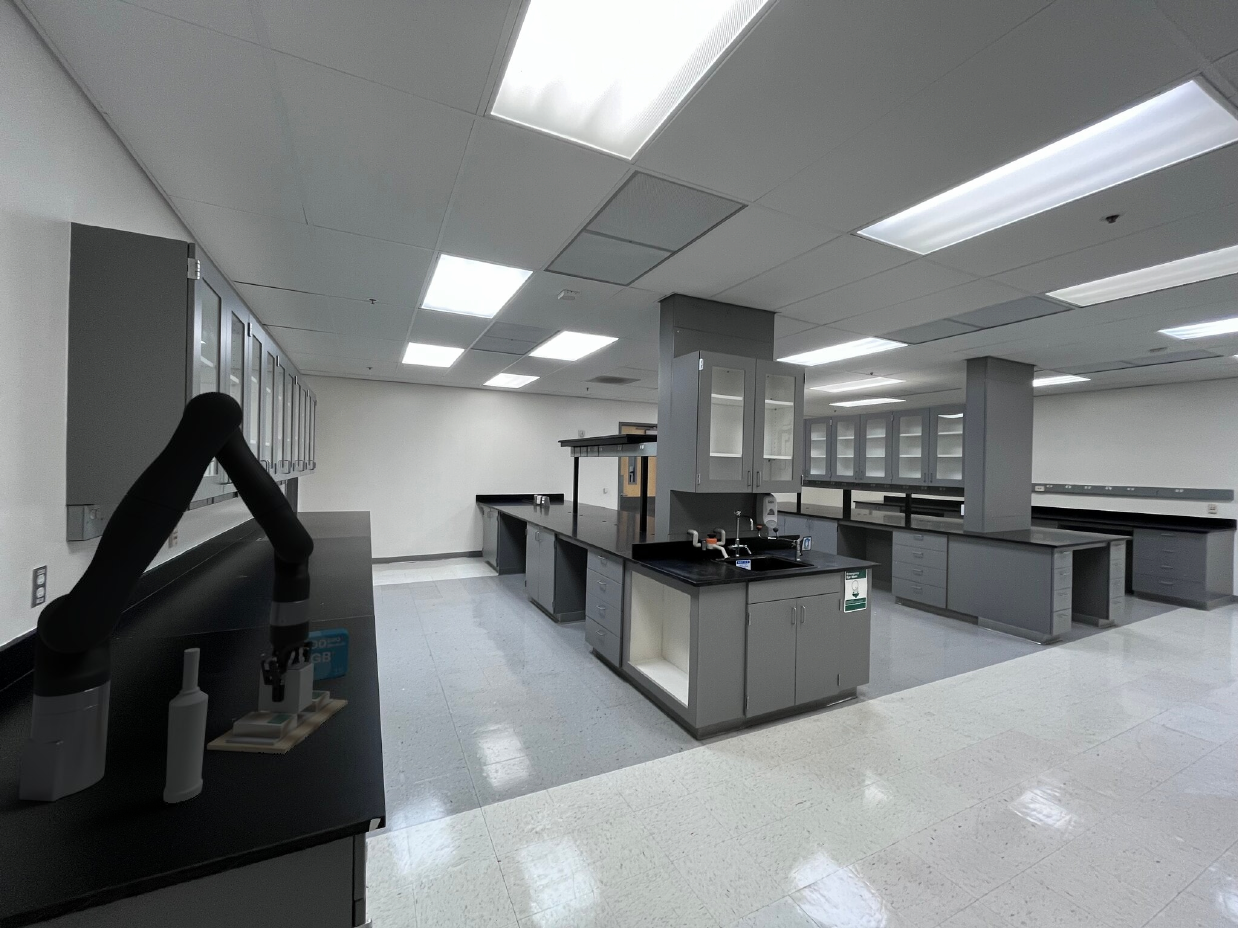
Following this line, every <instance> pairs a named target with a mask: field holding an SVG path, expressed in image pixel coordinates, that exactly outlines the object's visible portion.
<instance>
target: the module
mask: <svg viewBox="0 0 1238 928" xmlns="http://www.w3.org/2000/svg"><path fill="white" fill-rule="evenodd" d="M284 668H285V667H277V669H284ZM313 671H314V663H311V662H300V663H298V662H297V663H295V664H292V665H291V668H289V670H288V673H286V678H285V683H284V684H285V688H284V700H283V701H282V702H273V701H272V685H265V684H264V679H263V674H262V668H260V671H259V672H260V673H259V687H258V688H259V690H258V706H257V712H260V711H275V712H293V713H299V712H300V711H302V710H303V709H305V708H306V707H307V706H309V705H310V704H312V691H314V690H313V688H314V686H313V685H314V681H313ZM278 676H279V679H280V677H281V673H278ZM270 679H271V677H270Z"/></svg>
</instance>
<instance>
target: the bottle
mask: <svg viewBox="0 0 1238 928" xmlns="http://www.w3.org/2000/svg"><path fill="white" fill-rule="evenodd" d="M200 649H201V648H199V647H193V648H188V649H185V650H184V652H183V655H184V656H183V672H182V675H183V677H182V687H181V688H182V689H181V690H179V694H177V695H176V696H175V697H174V698H173V699H171V700H169V704H168V725H167V747H166V748H167V753H166V754H167V755H166V779H165V782H166V783H165V788H164V790H163V802H164V801H165V802H168V803H176V802H177V803H178V802H180V801H185V800H188V799H190V798H193V797H195V796H196V795H198V794H199V793H200V794H201V792H202V789H203V784H204V783H203V782H204V780H203V778H202V771H203V759H204V758H203V757H204V747H205V737H206V736H205V734H206V724H207V712H208V700H209V694H207V693H205V692H203V691H201V689H200V688H201V687H200V686H198V677H199V664H200V663H199V662H200ZM200 794H199V795H200ZM199 795H198V796H199ZM195 798H196V797H195ZM165 802H164V803H165Z"/></svg>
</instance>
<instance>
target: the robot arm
mask: <svg viewBox="0 0 1238 928" xmlns="http://www.w3.org/2000/svg"><path fill="white" fill-rule="evenodd" d="M182 412H183V413H182V416H181V419H180V421H179V422H178V425H177V426H176V428H175V431H174V432H173V434H172V436H171V438H170V439H169V441H168V443H167V445H166V446H165V447H164V449H163V450H162V451H161V452H160V453H159V455H158V456H156V457H155V459H154V460H153V461H152V462H151V463H150V464H149V465H148V466H147V467H146V469H144V471H143V472H142V473H141V474H140V475H139V477H138V478H137V479H135V481H134V483H133V484H132V485H131V486H130V488H129V489H128V491H127V492H126V494H125V495H124V496H123V498H121V500H120V502H119V503H118V505H117V506H116V508H115V509H114V511H113V512H112V515H111V516H110V517H109V520H108V521H107V524H106V526H105V528H104V530H103V533H102V534H101V537H100V539H99V542H98V545H97V547H96V549H95V552H94V554H93V557H92V559H91V561H90V563H89V564H88V566H87V568H86V570H85V571H84V572H83V574H82V576H81V577H80V578H79V579H78V581H76V583H75V585H74V586H73V587H72V588H71V589H70V591H69V592H68V593H65V594H61V595H60V596H59V597H56V598H55V599H53V600H51V601H50V602H49V603H47V604H46V605H45V607H44V608H43V609H42V610H41V611H40V613H39V616H38V617H37V623H36V628H35V631H36V632H35V648H34V662H33V663H34V664H33V681H34V683H33V697H32V698H33V700H32V701H33V702H32V711H31V713H32V714H31V723H30V724H31V725H30V726H31V728H30V739H28V740H25V741H24V742H23V743H22V753H21V754H22V755H21V769H20V782H19V796H18V800H23V801H25V800H26V801H40V802H41V801H42V802H55V801H57V800H59V799H60V798H63V797H66V796H67V797H68V796H69V795H73V794H75V793H78V792H80V791H81V792H82V791H83V790H85V789H88V788H89V787H91V786H93V785H95V784H96V783H98V782H99V781H100V780H101V779H102V778H103V777H104V775H105V767H106V754H107V753H106V752H107V751H106V750H107V739H108V738H107V737H108V721H109V705H110V694H111V693H110V692H111V691H110V690H111V675H112V660H111V645H110V644H111V634H112V633H113V632H114V631H115V629H116V627H117V626H118V623H119V621H120V618H121V616H122V614H123V612H124V610H125V608H126V606H127V604H128V602H129V600H130V599H131V598H130V597H131V596H132V594H133V592H134V590H135V588H136V587H137V584H138V582H139V581H140V579H141V577H142V576H143V574H144V573H145V572H146V570H147V569H148V568H149V566H150V565H151V564H152V562H153V561H154V559H155V558H156V556H157V555H158V554H159V552H160V551H161V550H162V548H163V547H164V545H165V543H166V542H167V541H168V539H169V538H170V537H171V535H172V534H173V532H174V530H175V529H176V528H177V526H178V524H179V523H180V521H181V519H182V518H183V516H184V515H185V513H186V511H187V510H188V508H189V506H190V504H191V502H192V500H193V499H194V497H195V495H196V493H197V491H198V489H199V487H200V485H201V483H202V481H203V478H204V476H205V475H206V471H208V468H209V466H210V464H211V463H212V462H213V460H214V459H216V461H217V462H218V463H219V465H220V466H221V468H222V470H223V471H224V472H225V474H226V475H227V477H228V479H229V480H230V482H231V483H232V486H233V487H234V488H235V490H236V492H237V493H238V495H239V496H240V498H241V500H242V502H243V503H244V505H245V506H246V508H247V509H248V511H249V512H250V514H251V515H252V517H253V518H254V519H253V520H255V522H256V523H257V524H258V526H260V527H261V528H262V530H263V532H264V533H265V535H266V537H267V539H268V541H269V542H270V544H271V546H272V547H273V563H274V565H273V566H274V567H273V568H274V570H273V571H274V577H273V583H272V584H273V585H272V597H271V599H272V600H271V601H272V602H271V606H270V610H269V611H270V612H269V626H268V627H269V628H268V642H269V644H271V645H272V647H273V648H272V649H273V650H272V651H271V654H270V655H271V656H270V657H269V658H267V659H262V660H261V662H260V666H261V668H260V669H262V674H263V679H264V684H265V685H272V701H273V702H282V701H283V700H284V688H285V684H284V683H285V678H286V673H288V670H289V668H291V665H292V664H295V663H297V662H298V663H300V662H309V659H310V654H311V650H312V645H313V642H312V641H305V640H306V639H307V638H308V637H309V632H310V624H311V621H310V620H311V600H310V597H311V596H310V595H311V594H310V593H311V576H310V573H309V565H310V564H309V563H310V557H311V555H312V554H313V551H314V548H315V547H314V545H315V544H314V540H313V538H312V536H311V535H310V533H309V532H308V531H307V529H306V528H305V526H304V525H303V524H302V522H301V521H300V519H299V518H298V517H297V515H296V514H295V512H294V510H293V508H292V506H291V504H290V502H289V500H288V499H287V497H286V495H285V493H284V491H282V489H281V486H280V485H279V484H278V483H277V482H276V480H275V479H274V477H273V476H272V475H271V474H270V473H269V472H268V470H267V469H266V468H265V467H264V465H263V464H262V463H261V462H260V461H259V459H258V457H256V455H255V454H254V452H253V451H252V449H251V447H250V446H249V445H248V443H247V441H246V439H245V436H244V434H243V432H242V430H241V425H242V423H243V420H244V419H243V417H244V415H243V409H242V407H241V405H240V403H239V402H238V401H237V399H235V398H234V397H233V396H231V395H229V394H227V393H226V392H225V393H224V392H221V391H207V392H202V393H199V394H197V395H195V396H193V397H192V398H191V399H190V400H189V401H188V402H187V404H186V406H184V408H183V411H182ZM303 657H304V658H305V659H304V660H303ZM277 667H285V668H284V669H277ZM278 673H281V677H280V679H279V676H278ZM270 677H271V679H270Z"/></svg>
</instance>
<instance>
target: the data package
mask: <svg viewBox="0 0 1238 928" xmlns="http://www.w3.org/2000/svg"><path fill="white" fill-rule="evenodd" d="M348 632H349V631H348V630H347V629H346V628H334V629H328V630H327V629H326V630H317V631H309V637H308V638H307V639H306V640H305V641H312V642H313V645H312V650H311V654H310V659H309V662H311V663H314V671H313V682H314V681H320V679H321V680H326V679H333V678H337V677H338V676H339V677H343V676H344V675H346V674H347V672H348V671H349V670H348V669H349V668H348V667H349V650H350V649H349V647H350V635H349V633H348ZM304 659H305V658H304V657H303V660H304Z"/></svg>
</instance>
